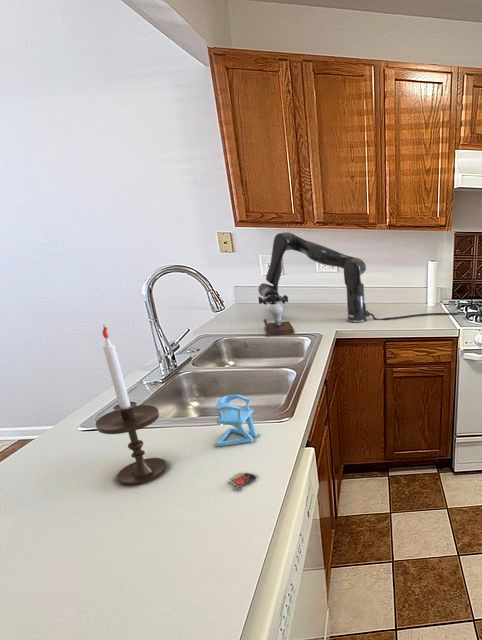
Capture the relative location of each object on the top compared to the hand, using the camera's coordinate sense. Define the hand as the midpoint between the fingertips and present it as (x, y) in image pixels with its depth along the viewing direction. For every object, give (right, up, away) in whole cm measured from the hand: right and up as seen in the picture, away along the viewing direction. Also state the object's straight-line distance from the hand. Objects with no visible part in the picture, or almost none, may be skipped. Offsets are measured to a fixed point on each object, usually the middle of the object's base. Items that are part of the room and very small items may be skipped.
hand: (274, 302), depth 200 cm
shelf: (+4, -15, -5) cm, 16 cm away
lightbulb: (+4, -13, -5) cm, 14 cm away
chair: (+29, -50, -96) cm, 112 cm away
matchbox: (+37, -56, -112) cm, 131 cm away
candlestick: (+14, -55, -110) cm, 124 cm away
